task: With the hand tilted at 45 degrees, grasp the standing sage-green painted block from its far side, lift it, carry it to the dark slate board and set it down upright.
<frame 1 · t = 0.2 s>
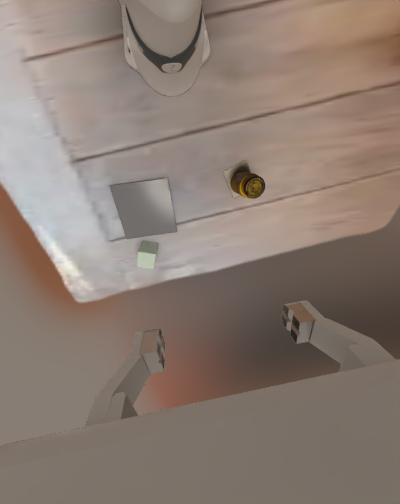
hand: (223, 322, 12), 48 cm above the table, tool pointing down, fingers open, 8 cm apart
condiment: (239, 179, 54), on the table
block: (149, 248, 60), on the table
board: (146, 209, 55), on the table
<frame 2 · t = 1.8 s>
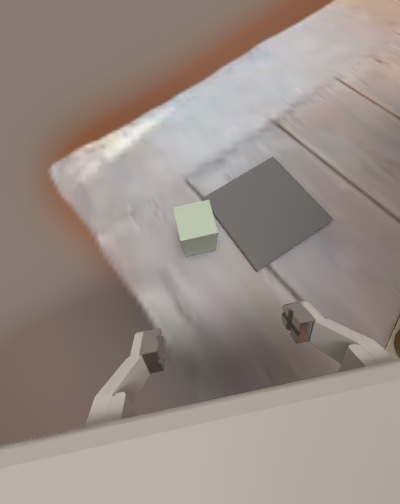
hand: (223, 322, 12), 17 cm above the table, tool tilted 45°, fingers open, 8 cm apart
block: (198, 240, 32), on the table
board: (264, 211, 33), on the table
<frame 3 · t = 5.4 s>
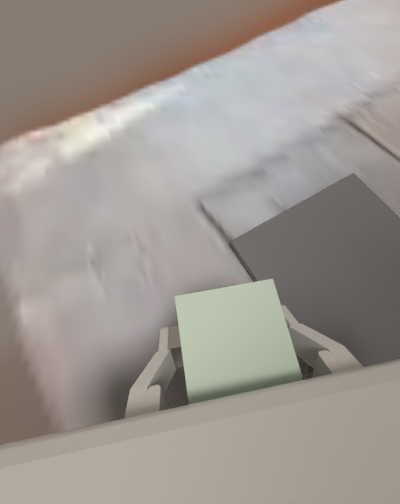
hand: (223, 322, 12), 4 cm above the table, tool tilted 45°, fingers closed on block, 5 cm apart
block: (218, 327, 16), on the table, touching gripper
board: (344, 273, 17), on the table
when the fingers open (7 cm above the table, at t = 10.3 s): block drops 1 cm, resting on board.
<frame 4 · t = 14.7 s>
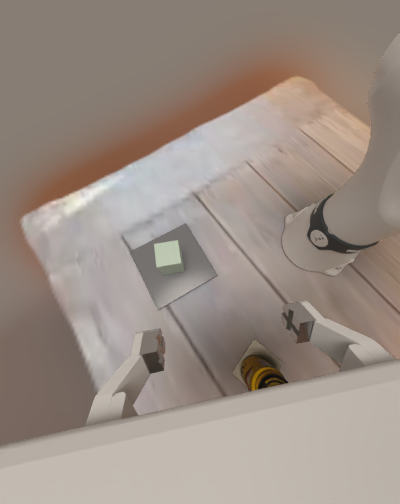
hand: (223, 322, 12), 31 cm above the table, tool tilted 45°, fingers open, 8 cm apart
condiment: (256, 367, 39), on the table
block: (172, 263, 44), point 1 cm above the table, touching board
board: (173, 264, 45), on the table
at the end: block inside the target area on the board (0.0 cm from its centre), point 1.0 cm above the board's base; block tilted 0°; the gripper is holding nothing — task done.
